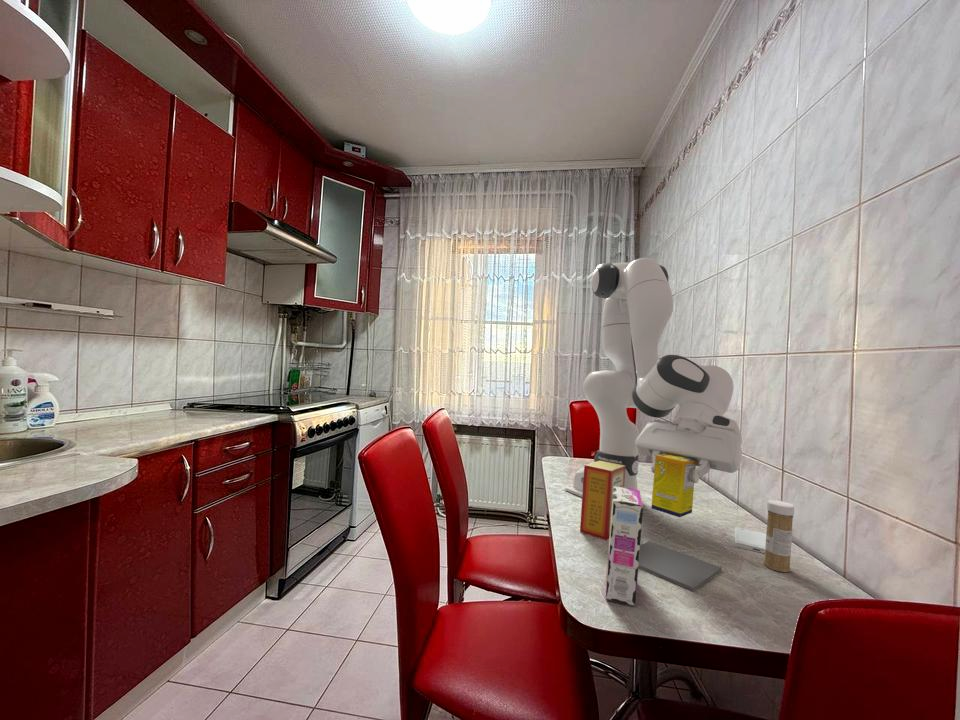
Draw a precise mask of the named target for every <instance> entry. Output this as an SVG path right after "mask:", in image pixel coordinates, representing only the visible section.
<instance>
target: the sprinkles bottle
mask: <svg viewBox="0 0 960 720" xmlns="http://www.w3.org/2000/svg"><path fill="white" fill-rule="evenodd" d="M766 509H767V519H766V520H767V521H766V532H765V533H766V545H765V548H766V551H765V555H764V561H763V564H764V566H765V567H767V568H769V569H771V570H773V571H777V572H781V573H789V572H791V567H790V566H791V565H790V564H791V555H792V543H793V521H794V520H793V519H794V515H795V505H793V504H792V503H789V502H786V501H781V500H776V499H770V500H767V505H766Z"/></svg>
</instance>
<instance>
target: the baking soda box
mask: <svg viewBox="0 0 960 720" xmlns="http://www.w3.org/2000/svg"><path fill="white" fill-rule="evenodd" d="M583 467H584V480H583V494H582V497H581V511H580V514H581V515H580V527H579V532H580V533H581V534H582V533H583V534H585V535H589V536H592V537H595V538H599V539H601V540H604V541H609V535H610V522H611V510H612V498H613V489H614V486H616V487H623V488H624V483H625V467H626V466H625V465H620V464H615V463H610V462H605V461H597V462H593V461H592V463H591V462H589V463H587V464H585V465H584V466H583Z"/></svg>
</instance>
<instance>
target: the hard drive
mask: <svg viewBox="0 0 960 720" xmlns="http://www.w3.org/2000/svg"><path fill="white" fill-rule="evenodd" d="M765 545H766V532H765V533H764V532H760V531H756V530H751V529H746V528H741V527H739V526H738V527H734V546H736V548H740V549H744V550H749V551H752V550H753V552H756V553H757V552H758V553H760V552H761V554H764V553H765V551H766V548H765Z"/></svg>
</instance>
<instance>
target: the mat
mask: <svg viewBox="0 0 960 720" xmlns="http://www.w3.org/2000/svg"><path fill="white" fill-rule="evenodd" d="M638 569H640V570H642V571H645V572H647V573H650V574H652V575H654V576H656V577H659V578H661V579H662V580H663V579H664V580H666V581H668V582H671V583H673V584H675V585H678V586H679V587H682V588H684V589H686V590H689V591H691V592H695V591H696V590H698V589H699V588H700V587H702V586H704V584H706V583H707V582H709V580H711V579H712V578H714V577H715V576H716V574H717V573H718V574H719V573H721V572H722V571H723V567H722V566H719V565H716V564H714V563H711V562H708V561H705V560H702V559H699V558H697V557H694V556H692V555H689V554H686V553H684V552H681V551H678V550H675V549H674V548H673V549H672V548H669V547H667V546H664V545H662V544H658V543H656V542H653V541H651V540H648V541H646V542H644V543H642V544H640V554H639V567H638ZM721 570H722V571H721ZM720 571H721V572H720ZM718 574H717V575H718Z"/></svg>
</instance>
